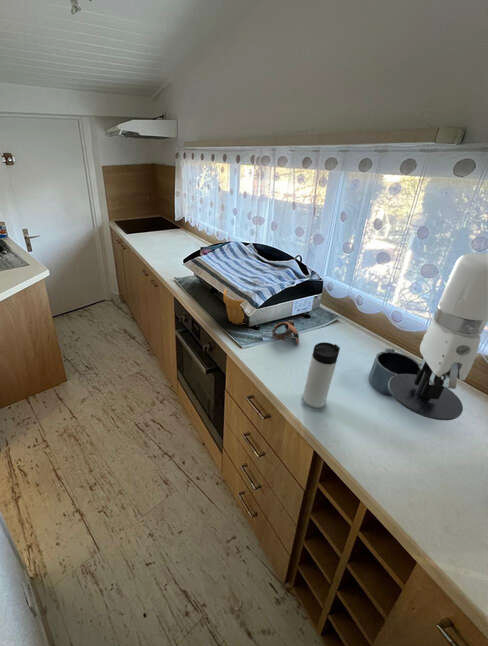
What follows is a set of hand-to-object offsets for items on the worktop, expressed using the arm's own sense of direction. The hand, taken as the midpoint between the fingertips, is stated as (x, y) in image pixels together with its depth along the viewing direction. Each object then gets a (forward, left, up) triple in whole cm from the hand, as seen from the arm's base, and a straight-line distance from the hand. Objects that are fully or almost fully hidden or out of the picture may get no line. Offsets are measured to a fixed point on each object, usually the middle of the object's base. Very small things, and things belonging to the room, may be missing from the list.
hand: (425, 390), depth 67 cm
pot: (-5, -26, -21) cm, 34 cm away
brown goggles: (+27, -44, -21) cm, 56 cm away
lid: (0, 0, -2) cm, 2 cm away
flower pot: (+47, -54, -21) cm, 74 cm away
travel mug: (+19, -12, -21) cm, 30 cm away
